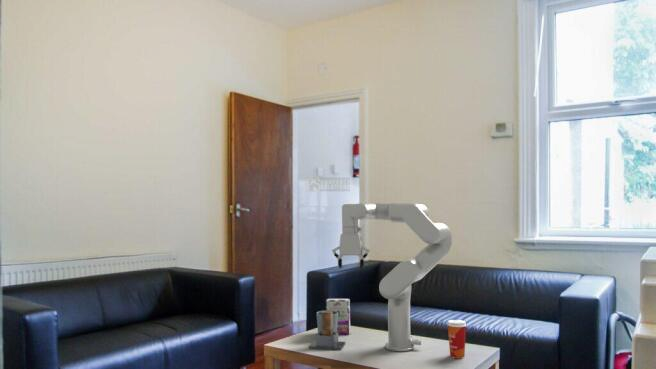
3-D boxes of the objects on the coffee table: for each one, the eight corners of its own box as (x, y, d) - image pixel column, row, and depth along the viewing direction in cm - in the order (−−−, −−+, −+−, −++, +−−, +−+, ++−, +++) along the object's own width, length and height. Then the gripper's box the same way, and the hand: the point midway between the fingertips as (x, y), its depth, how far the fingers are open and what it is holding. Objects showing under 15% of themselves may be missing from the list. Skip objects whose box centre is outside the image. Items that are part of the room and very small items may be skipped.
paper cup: (445, 353, 205) (445, 319, 206) (464, 353, 205) (463, 319, 206) (449, 359, 198) (449, 323, 198) (469, 359, 197) (468, 323, 198)
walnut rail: (333, 343, 219) (332, 311, 220) (330, 345, 215) (330, 312, 216) (324, 342, 220) (324, 310, 221) (321, 345, 216) (321, 312, 217)
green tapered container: (314, 340, 227) (313, 314, 228) (319, 335, 237) (319, 309, 238) (335, 341, 225) (335, 315, 226) (340, 336, 235) (340, 310, 235)
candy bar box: (350, 332, 242) (350, 298, 243) (349, 335, 237) (348, 300, 238) (327, 331, 244) (327, 297, 244) (326, 334, 239) (325, 299, 239)
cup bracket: (345, 344, 221) (345, 331, 221) (340, 350, 211) (340, 337, 212) (314, 342, 224) (314, 330, 225) (308, 348, 215) (308, 335, 215)
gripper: (370, 230, 231) (370, 267, 230) (333, 230, 235) (334, 267, 234) (367, 230, 224) (368, 269, 223) (330, 231, 227) (331, 268, 227)
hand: (351, 268), depth 228 cm, fingers open, 9 cm apart
